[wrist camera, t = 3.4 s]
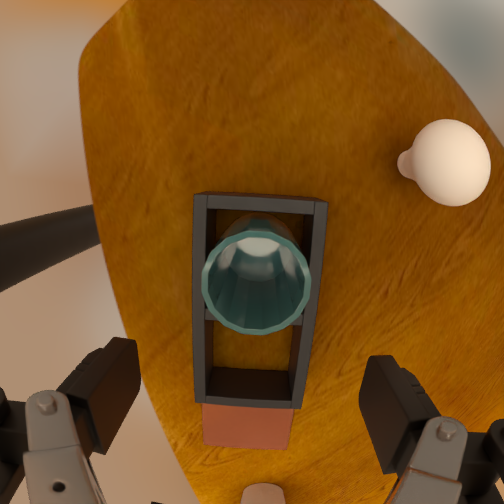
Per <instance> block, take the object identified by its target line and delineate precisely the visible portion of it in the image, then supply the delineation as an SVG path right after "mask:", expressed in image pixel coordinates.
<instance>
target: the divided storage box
mask: <svg viewBox="0 0 504 504" xmlns="http://www.w3.org/2000/svg"><path fill="white" fill-rule="evenodd" d="M216 209H228V210H247V211H264V212H279V213H294V214H304V226H303V238H302V250H301V251H302V253H303V255H304V257H305V258H306V261H307V264H308V268H309V271H310V274H311V277H312V281H311V290H310V298H309V300H308V302H307V304H306V306H305V307H304V309H303V311H302V313H301V314H300V316H299V317H298V318H297V319H295V320H294V321H293V322H292V323H290V324H289V325H294V327H293V336H292V344H291V352H290V360H289V367H288V371H271V370H252V369H237V368H224V367H213V320H216V321H219V320H218V319H217V318H216V317H215V316H214V315H213V314H212V313H211V312H210V311H209V309H208V307H207V305H206V302H205V300H204V297H203V295H202V292H201V276H202V269H203V267H204V265H205V263H206V261H207V258H208V256H209V254H210V252H211V251H212V249H213V248H214V246H215V226H216ZM327 214H328V202H326V201H323V200H321V199H318V198H312V197H299V196H285V195H270V194H254V193H235V192H212V191H205V192H201V193H197V194H194V204H193V241H192V330H193V367H194V392H195V402H196V403H205V404H214V405H225V406H237V407H253V408H274V409H301V407H302V401H303V396H304V390H305V384H306V379H307V373H308V367H309V361H310V354H311V348H312V341H313V335H314V328H315V321H316V313H317V306H318V298H319V290H320V282H321V274H322V265H323V256H324V246H325V236H326V225H327Z"/></svg>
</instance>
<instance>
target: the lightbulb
mask: <svg viewBox="0 0 504 504" xmlns="http://www.w3.org/2000/svg"><path fill="white" fill-rule="evenodd" d="M397 166H398V169H399V171H400V173H401V174H402V175H403V176H404V177H406V178H410V179H412V180H414V181H416V182H417V184H418V186H419V187H420V189H421V190H422V191H423V192H424V193H425V194H426V195H427V196H428V197H430V198H431V199H432V200H434V201H436V202H438V203H440V204H443V205H447V206H461V205H464V204H468V203H469V202H471V201H473V200H475V199H476V198H477V197H478V196H479V195H480V194H481V193H482V192H483V190H484V189H485V187H486V185H487V183H488V180H489V176H490V169H491V166H490V157H489V153H488V150H487V147H486V145H485V143H484V141H483V140H482V138H481V137H480V136H479V134H478V133H477V132H476V131H475V130H474V129H473V128H471V127H470V126H468V125H467V124H464V123H462V122H459V121H457V120H450V119H443V120H437V121H434V122H432V123H430V124H428V125H427V126H426V127H424V128H423V129H422V130H421V131H420V132H419V134H418V135H417V136H416V138H415V140H414V142H413V146H412V147H411V148H410V149H409V150H407V151H404V152H402V153H401V154H400V155H399V157H398V161H397Z"/></svg>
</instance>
